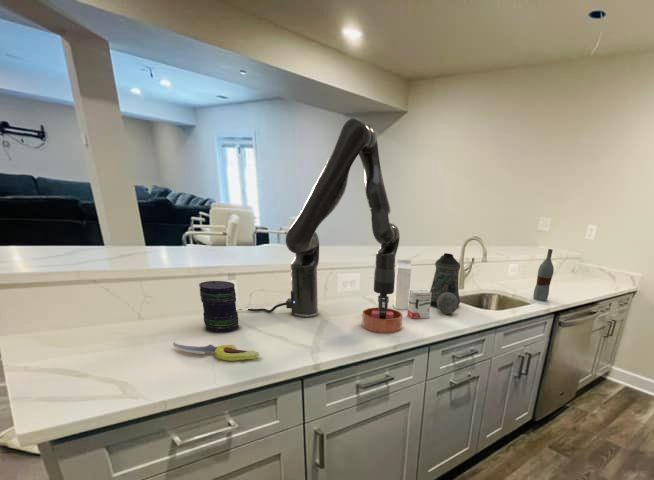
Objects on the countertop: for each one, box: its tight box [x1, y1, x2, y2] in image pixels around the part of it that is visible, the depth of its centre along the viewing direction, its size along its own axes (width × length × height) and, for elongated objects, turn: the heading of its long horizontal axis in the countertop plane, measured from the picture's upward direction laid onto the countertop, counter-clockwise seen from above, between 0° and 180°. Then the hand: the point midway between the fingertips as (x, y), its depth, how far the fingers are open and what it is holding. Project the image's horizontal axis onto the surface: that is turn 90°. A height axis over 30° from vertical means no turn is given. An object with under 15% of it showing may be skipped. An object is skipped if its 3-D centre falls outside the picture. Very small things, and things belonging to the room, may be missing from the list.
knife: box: [172, 342, 260, 361], centre depth 110 cm, size 8×3×25 cm
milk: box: [393, 259, 412, 310], centre depth 175 cm, size 6×6×22 cm
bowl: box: [361, 307, 403, 334], centre depth 150 cm, size 15×15×6 cm
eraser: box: [372, 310, 393, 319], centre depth 148 cm, size 8×4×4 cm, turn 102°
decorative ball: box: [437, 292, 459, 315], centre depth 178 cm, size 10×10×10 cm
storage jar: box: [198, 280, 240, 334], centre depth 126 cm, size 10×10×15 cm
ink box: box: [407, 288, 432, 320], centre depth 167 cm, size 8×5×12 cm, turn 123°
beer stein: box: [429, 252, 461, 309], centre depth 189 cm, size 16×19×25 cm
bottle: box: [532, 248, 555, 302], centre depth 229 cm, size 9×9×30 cm
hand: (382, 322), depth 149 cm, fingers closed on eraser, 4 cm apart
